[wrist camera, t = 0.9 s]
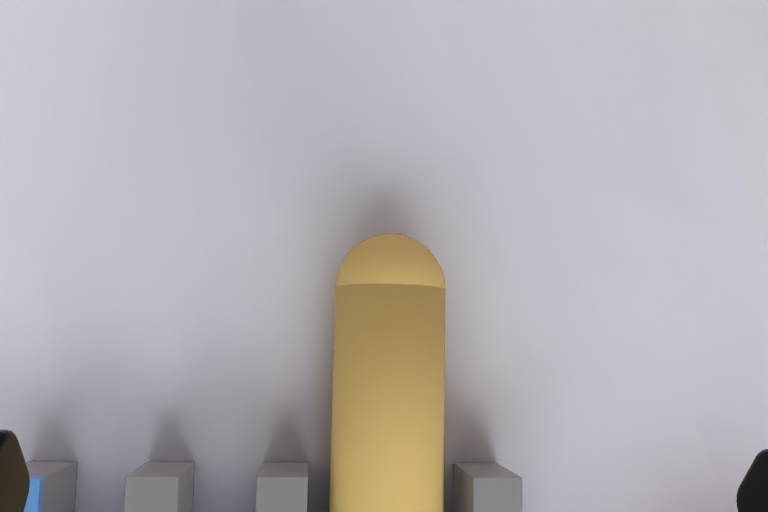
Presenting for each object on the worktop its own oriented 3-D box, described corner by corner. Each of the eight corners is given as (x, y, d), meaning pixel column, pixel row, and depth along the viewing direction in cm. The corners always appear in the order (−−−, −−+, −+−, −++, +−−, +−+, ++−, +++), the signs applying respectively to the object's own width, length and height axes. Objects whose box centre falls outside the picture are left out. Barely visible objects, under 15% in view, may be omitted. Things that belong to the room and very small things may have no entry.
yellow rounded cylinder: (431, 614, 25) (452, 659, 21) (324, 617, 24) (327, 662, 21) (435, 244, 26) (455, 227, 23) (335, 240, 26) (339, 223, 22)
